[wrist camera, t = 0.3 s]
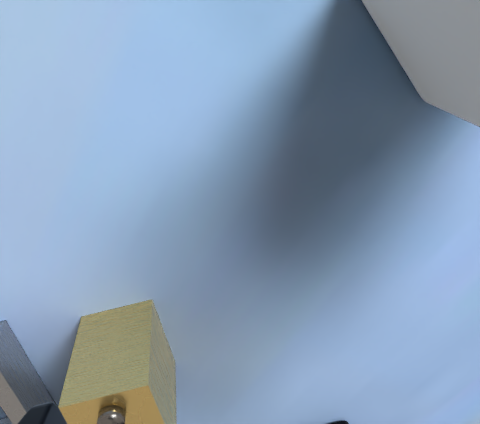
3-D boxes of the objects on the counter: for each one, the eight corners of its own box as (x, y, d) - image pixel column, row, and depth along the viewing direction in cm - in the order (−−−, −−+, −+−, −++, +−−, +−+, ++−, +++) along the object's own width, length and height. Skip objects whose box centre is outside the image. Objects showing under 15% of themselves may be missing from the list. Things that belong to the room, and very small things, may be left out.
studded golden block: (175, 361, 27) (177, 465, 21) (110, 377, 27) (95, 486, 21) (152, 298, 25) (147, 396, 19) (81, 316, 24) (54, 420, 19)
